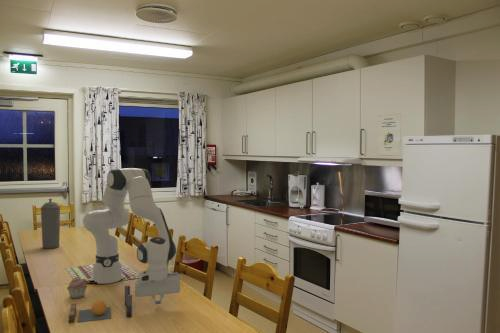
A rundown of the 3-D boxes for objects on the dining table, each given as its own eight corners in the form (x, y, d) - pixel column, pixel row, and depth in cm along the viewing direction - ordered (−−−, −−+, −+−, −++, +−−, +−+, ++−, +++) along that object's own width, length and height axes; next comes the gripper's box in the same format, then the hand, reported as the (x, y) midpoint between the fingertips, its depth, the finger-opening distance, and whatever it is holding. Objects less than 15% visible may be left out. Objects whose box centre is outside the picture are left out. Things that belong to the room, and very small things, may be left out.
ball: (108, 303, 187) (99, 314, 186) (97, 296, 184) (88, 307, 183) (109, 308, 181) (100, 320, 180) (98, 301, 179) (89, 313, 178)
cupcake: (91, 296, 205) (91, 276, 204) (72, 301, 198) (72, 280, 197) (82, 291, 211) (81, 272, 210) (63, 296, 204) (63, 276, 203)
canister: (57, 244, 311) (57, 197, 309) (62, 247, 301) (62, 199, 300) (39, 246, 303) (38, 198, 301) (43, 250, 293) (42, 200, 292)
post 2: (126, 315, 182) (125, 295, 181) (131, 314, 183) (131, 294, 182) (126, 317, 180) (126, 297, 179) (132, 316, 180) (132, 296, 180)
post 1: (124, 304, 194) (124, 285, 194) (130, 304, 195) (130, 285, 194) (124, 306, 192) (124, 287, 191) (130, 306, 193) (130, 286, 192)
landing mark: (79, 310, 187) (79, 310, 187) (110, 307, 191) (110, 306, 191) (77, 322, 174) (77, 321, 174) (110, 318, 179) (110, 318, 179)
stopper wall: (71, 310, 187) (71, 303, 187) (76, 309, 188) (76, 303, 187) (68, 323, 174) (68, 315, 174) (74, 322, 174) (73, 315, 174)
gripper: (179, 270, 197) (179, 298, 198) (134, 273, 190) (134, 303, 191) (181, 273, 191) (181, 303, 192) (135, 278, 184) (135, 308, 185)
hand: (157, 303), depth 191 cm, fingers closed
